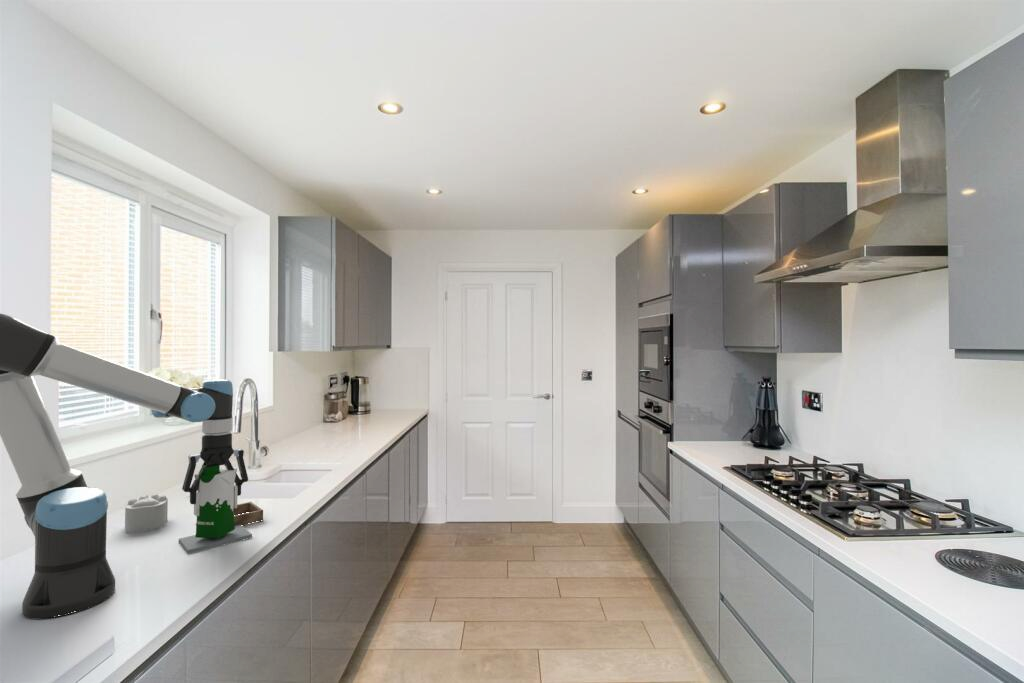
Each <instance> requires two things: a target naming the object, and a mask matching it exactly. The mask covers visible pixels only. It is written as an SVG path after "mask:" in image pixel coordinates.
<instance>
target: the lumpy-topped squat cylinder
mask: <svg viewBox="0 0 1024 683" xmlns="http://www.w3.org/2000/svg"><path fill="white" fill-rule="evenodd" d="M168 499H169V498H168V497H167V495H164V494H161V495H159V494H158V493H153V494H151V496H149V495H148V494H143V495H141V496H140V497H138V498H134V497H133V498H130V499H129V500H128V502H127V504H126V505H125V507H124V508H125V510H124V511H125V512H124V532H125V531H126V533H129V532H131V533H137V531H138V532H144V531H151V529H153V530H157V528H158V529H160V527H161V528H162V526H163V527H165V525H167V523H168V511H169V510H168V509H169V507H168V505H169V504H168V502H169V501H168ZM143 530H144V531H143Z"/></svg>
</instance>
